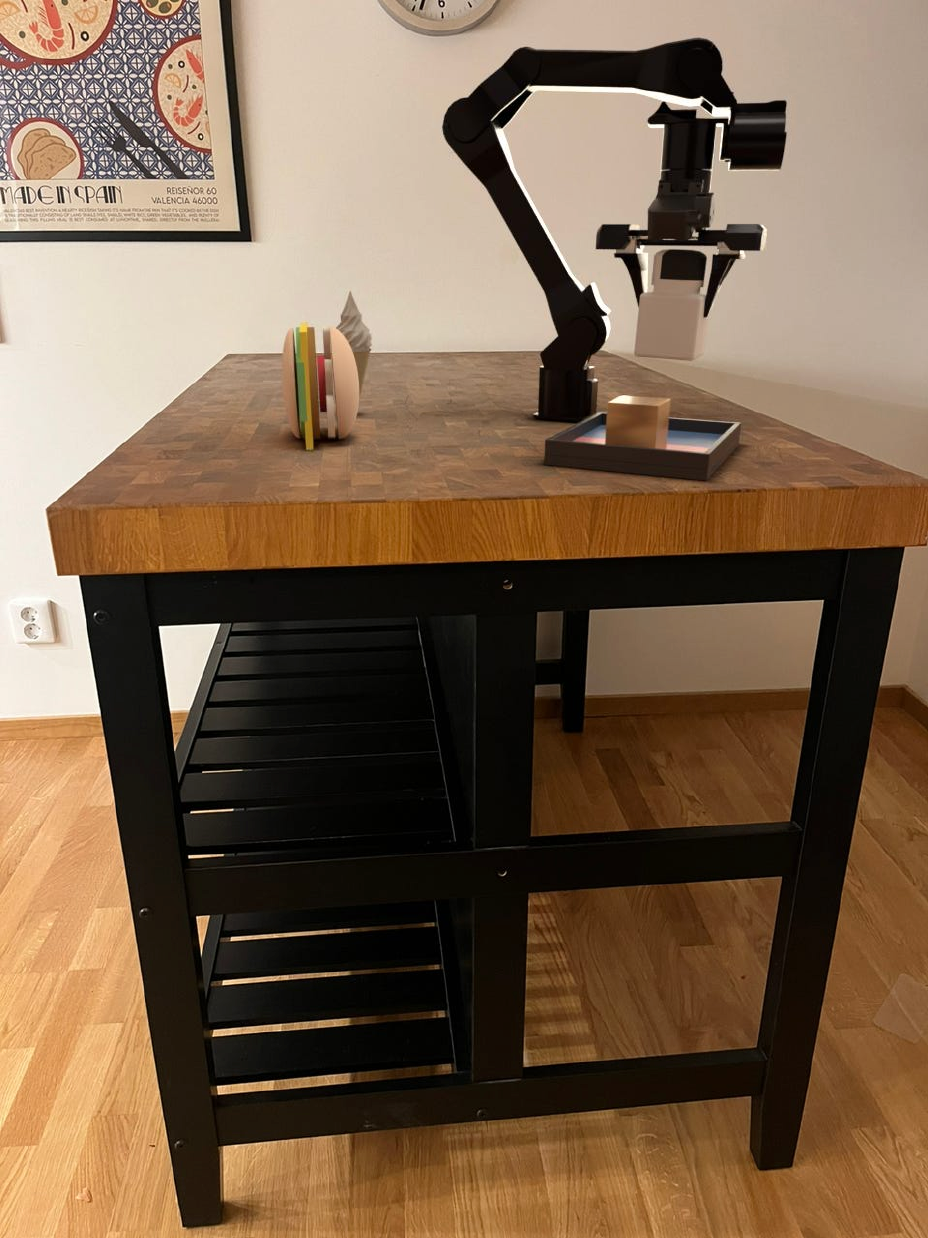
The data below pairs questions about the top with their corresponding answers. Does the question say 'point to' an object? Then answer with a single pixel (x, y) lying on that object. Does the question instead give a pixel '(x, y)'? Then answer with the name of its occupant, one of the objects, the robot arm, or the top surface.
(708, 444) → the tray
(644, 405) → the brass block
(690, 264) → the white square bottle
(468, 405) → the top surface
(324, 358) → the hamburger
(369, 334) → the ice cream cone
